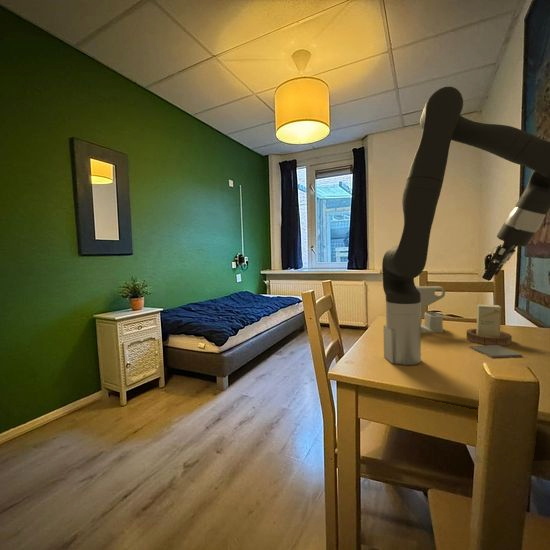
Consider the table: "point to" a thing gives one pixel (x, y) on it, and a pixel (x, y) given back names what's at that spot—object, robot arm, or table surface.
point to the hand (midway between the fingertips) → (489, 276)
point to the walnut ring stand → (489, 338)
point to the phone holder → (431, 318)
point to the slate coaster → (496, 351)
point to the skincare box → (488, 320)
